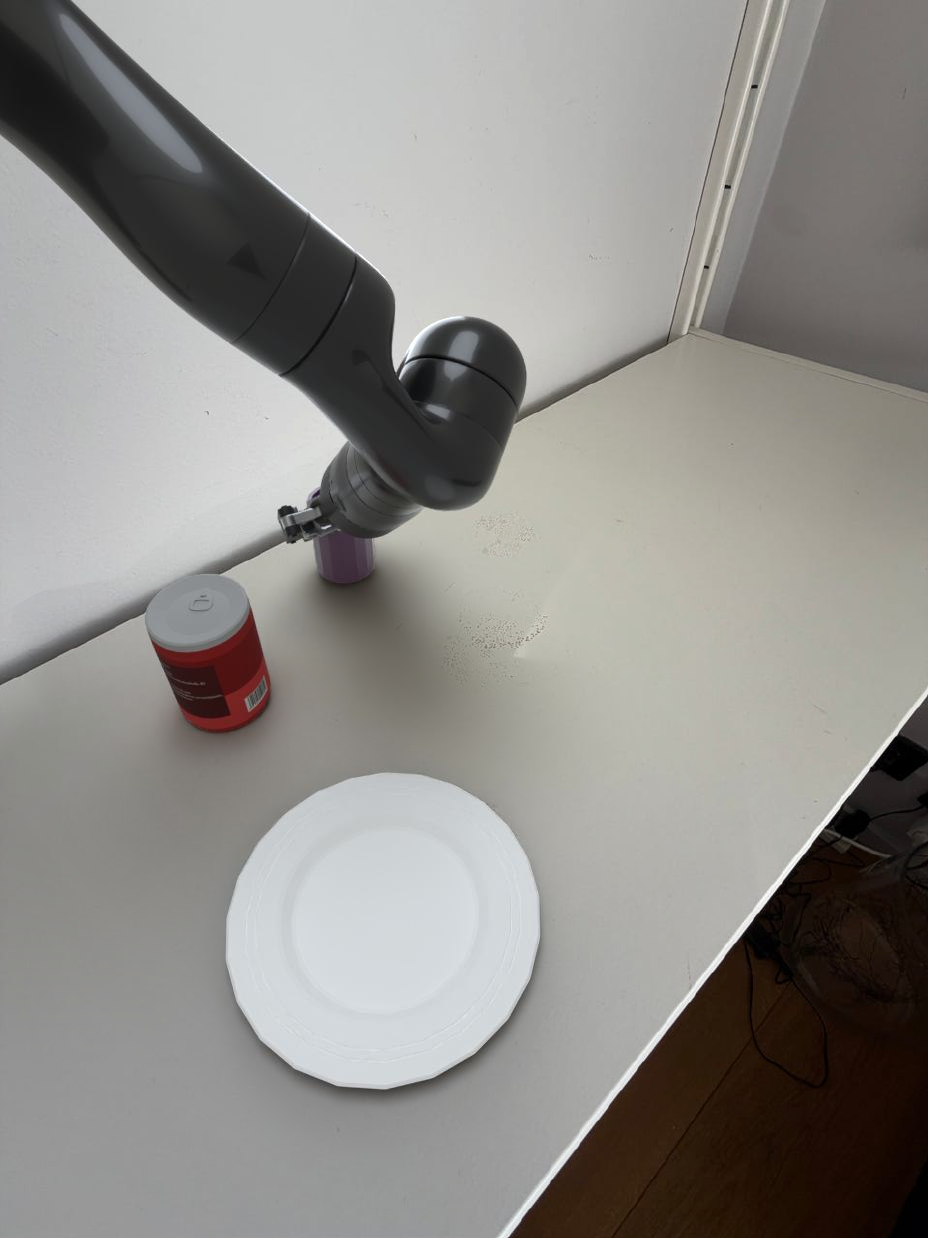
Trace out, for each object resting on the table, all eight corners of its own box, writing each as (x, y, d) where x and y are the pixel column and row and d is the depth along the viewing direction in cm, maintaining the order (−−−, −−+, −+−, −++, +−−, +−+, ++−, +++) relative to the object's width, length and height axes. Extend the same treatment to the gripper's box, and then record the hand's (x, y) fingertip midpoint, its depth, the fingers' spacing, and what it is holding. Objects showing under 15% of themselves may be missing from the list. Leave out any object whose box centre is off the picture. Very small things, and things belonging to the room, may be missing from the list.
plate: (517, 1133, 40) (520, 1127, 39) (173, 1055, 43) (165, 1046, 41) (552, 809, 55) (555, 796, 53) (294, 764, 57) (290, 750, 56)
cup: (355, 590, 70) (348, 526, 65) (305, 571, 72) (293, 507, 66) (386, 556, 74) (382, 492, 68) (338, 539, 76) (330, 475, 70)
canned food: (267, 655, 65) (243, 564, 57) (278, 723, 60) (253, 633, 52) (179, 673, 63) (143, 582, 56) (183, 745, 58) (143, 656, 50)
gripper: (443, 415, 58) (388, 467, 73) (272, 459, 53) (251, 505, 68) (473, 503, 58) (412, 536, 74) (307, 555, 53) (279, 579, 69)
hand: (335, 521), depth 71 cm, fingers closed on cup, 6 cm apart
